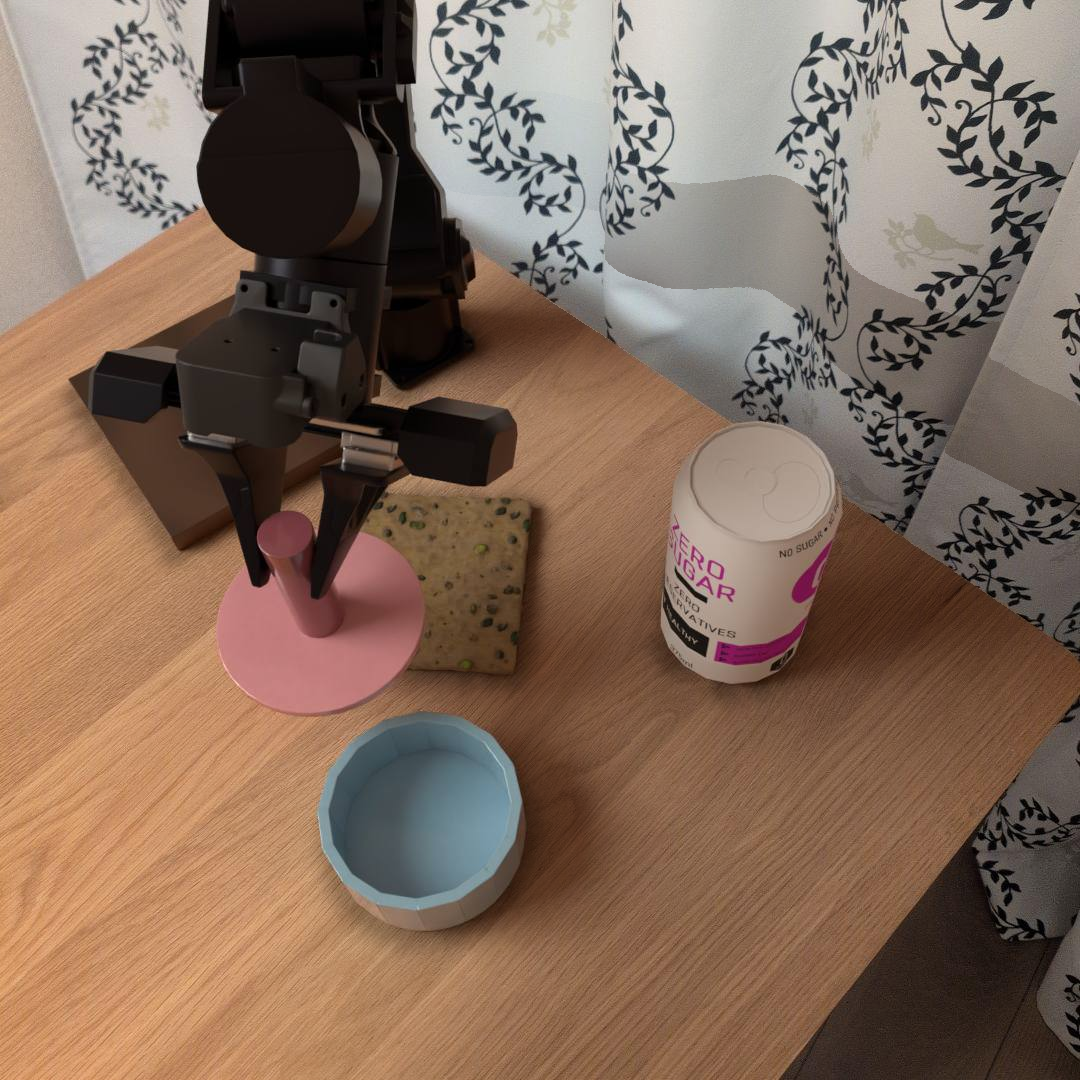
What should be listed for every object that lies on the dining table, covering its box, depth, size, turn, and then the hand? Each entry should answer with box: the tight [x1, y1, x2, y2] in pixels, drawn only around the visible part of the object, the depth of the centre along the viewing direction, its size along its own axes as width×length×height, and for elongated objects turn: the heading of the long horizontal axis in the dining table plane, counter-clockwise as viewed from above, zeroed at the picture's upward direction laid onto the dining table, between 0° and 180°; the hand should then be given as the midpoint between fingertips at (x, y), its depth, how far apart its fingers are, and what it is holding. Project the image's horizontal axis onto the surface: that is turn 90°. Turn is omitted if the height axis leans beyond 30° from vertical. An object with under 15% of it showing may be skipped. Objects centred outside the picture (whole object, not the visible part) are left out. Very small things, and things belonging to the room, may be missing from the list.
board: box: [67, 293, 342, 551], centre depth 77 cm, size 13×16×2 cm
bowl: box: [316, 710, 527, 932], centre depth 60 cm, size 10×10×4 cm
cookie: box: [360, 491, 533, 675], centre depth 69 cm, size 12×12×1 cm
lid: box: [215, 509, 426, 718], centre depth 56 cm, size 11×11×9 cm
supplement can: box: [660, 420, 843, 685], centre depth 61 cm, size 8×8×15 cm
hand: (288, 591), depth 54 cm, fingers closed on lid, 2 cm apart
